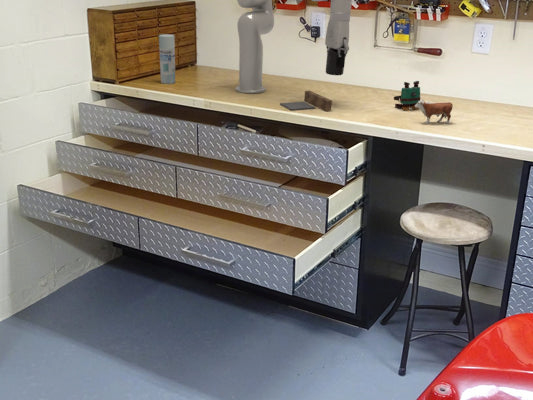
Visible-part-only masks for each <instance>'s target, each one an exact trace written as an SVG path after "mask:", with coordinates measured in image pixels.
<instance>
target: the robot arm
mask: <svg viewBox="0 0 533 400" xmlns="http://www.w3.org/2000/svg"><path fill="white" fill-rule="evenodd" d="M236 1H237V4H238V5H239V7H241V8H243V9H252V11H247V12H244V13H243V14H241V15H240V16H239V18H238V19H237V20H238V21H237V24H236V25H237V33H238V41H239V44H238V45H239V50H238V51H239V61H238V62H239V63H238V65H239V66H238V67H239V68H238V70H239V73H238V76H239V77H238V85H237V86H235V88H234V89H235V91H236V92H238V93H241V94H260V93H264V92H266V89H267V88H266V87H265V86H263V64H264V63H263V62H264V61H263V60H264V52H263V51H264V47H263V46H264V45H263V40H262V39H261V38H262V37H261V36H263V35H266V34H269V33H270V32H271V31H272V30H273V28H274V27H275V26H274V25H275V15H274V7H273V1H272V0H236ZM311 1H312V2H325V1H327V0H311ZM352 2H353V0H330V9H329V18H328V22H327V27H326V33H325V40H324V45H325V46H326V53H327V52H328V50H329V49H330V48H333V49H337V50H338V57H337V63H336V67H337V68H344V69H345V65H346V62H345V61H346V57H347V54H348V52H349V50H350V46H349V41H350V22H351V21H350V20H351V12H352ZM340 47H343V48H340ZM341 51H342V52H341ZM326 62H327V60H326ZM326 62H325V63H326Z"/></svg>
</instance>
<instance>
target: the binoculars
mask: <svg viewBox="0 0 533 400" xmlns="http://www.w3.org/2000/svg"><path fill="white" fill-rule="evenodd" d="M419 84H420V81H419V80H416V81H413V86H411V87H410V85H411V83H410V82H407V81H404V82H403V85H404V87H402V88H401V91H400V95H395V96H393V100H394V101H397V102H398V103H395V104H394V107H395V108H396V107H397V108H401V110H403V111H410V108H411V109H412V110H417V111H418V110H420V109H419V108H416V107H415V105H416V104H417V103H418V102H419V101H420V100H421V87H420V86H419Z"/></svg>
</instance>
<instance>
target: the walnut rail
mask: <svg viewBox="0 0 533 400" xmlns="http://www.w3.org/2000/svg"><path fill="white" fill-rule="evenodd" d="M303 102H306V103H308V104H310V105H312V106H314V107H315V108H318V109H320V110H322V111H325V112H332V105H333V104H332V103H333V100H332V99H329V98H327V97H325V96H322V95H321V94H318V93H316V92H314V91H311V90H304V100H303Z"/></svg>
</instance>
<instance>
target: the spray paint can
mask: <svg viewBox="0 0 533 400" xmlns="http://www.w3.org/2000/svg"><path fill="white" fill-rule="evenodd" d="M175 40H176V39H175V34H169V33H168V34H167V33H166V34H165V33H164V34H158V42H159V43H158V44H159V47H158V48H159V65H160V67H159V69H160V72H159V73H160V83H161V84H162V85H172V84H175V83H176V51H175V49H176V48H175V43H176V41H175Z"/></svg>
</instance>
